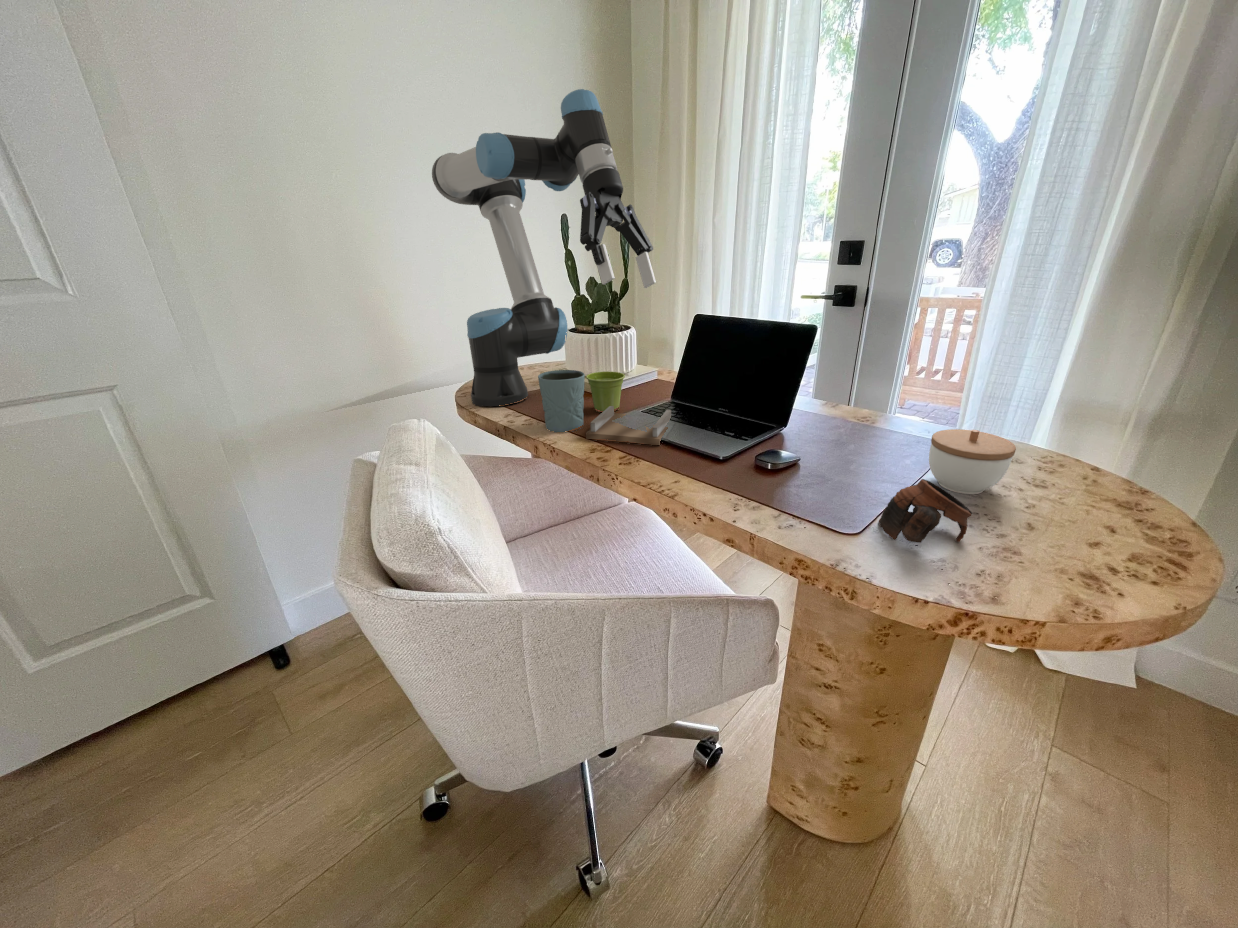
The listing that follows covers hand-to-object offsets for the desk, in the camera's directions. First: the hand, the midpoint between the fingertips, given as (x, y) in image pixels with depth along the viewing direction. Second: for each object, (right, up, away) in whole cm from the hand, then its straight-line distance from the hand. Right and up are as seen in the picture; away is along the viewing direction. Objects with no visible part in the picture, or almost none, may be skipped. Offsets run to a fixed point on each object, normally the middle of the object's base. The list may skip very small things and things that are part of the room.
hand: (630, 283), depth 97 cm
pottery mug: (+38, -46, -31) cm, 67 cm away
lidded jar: (+53, -39, -18) cm, 68 cm away
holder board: (+1, -29, +10) cm, 30 cm away
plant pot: (-5, -22, +26) cm, 34 cm away
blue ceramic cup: (-14, -27, +15) cm, 34 cm away
